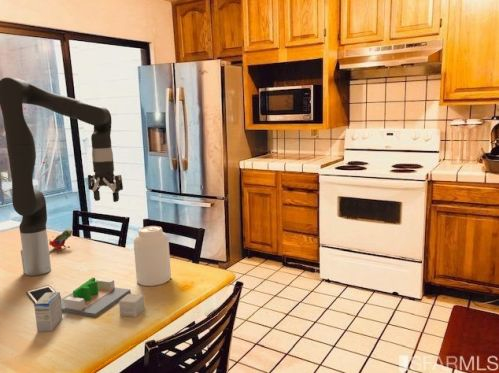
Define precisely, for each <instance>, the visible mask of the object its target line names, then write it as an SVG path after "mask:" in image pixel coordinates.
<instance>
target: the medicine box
mask: <svg viewBox="0 0 499 373" xmlns="http://www.w3.org/2000/svg"><path fill="white" fill-rule="evenodd" d="M60 297H61V292H59V291H56V292H48V293H45V294H44V295H43V296H42V297H41V298H40V299H39V300H38V301H37V302H36V303H33V304H34V314H35V322H36V331H37V332H38V333H39V332H40V333H41V332H52V331H54V329H55V328H56V326H57V325H58V324H59V323H60V321H61V320H62V319H63V312H62V307H61V299H62V297H61V298H60Z"/></svg>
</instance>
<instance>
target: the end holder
mask: <svg viewBox="0 0 499 373" xmlns="http://www.w3.org/2000/svg"><path fill="white" fill-rule="evenodd" d="M95 281H96V282H97V283H98V295H93V296H91V300H90V301H84V299H83V298H76V297H73V292H72V293H70V294H67V295H66V296H65V297H62V298H61V307H62V313H67V314H72V315H80V316H85V317H90V318H91V317H92V318H97V317H98V316H100V315H101V314H103V313H104V312H105V311H107V310H108V309H110V308H111V307H112V306H114V305H115V304H116V303H119V301H120V300H121V299H122V298H124V297H125V296H126V295H127V294H132V293H131V289H128V288H122V287H116V286H115V279H110V278H108V279H107V278H98V279H95Z"/></svg>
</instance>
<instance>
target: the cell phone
mask: <svg viewBox="0 0 499 373" xmlns="http://www.w3.org/2000/svg"><path fill="white" fill-rule="evenodd" d="M48 292H57V291H56V290H55V289H54V288H53V287H52V286H51V285H49V284H48V285H47V284H46V285H44V286H43V285H42V286H40V287H36V288H32V289H28V290H27V291H26V295H27V296H28V297H29V298H30V300H31V301H32V303H33V304H35V303H36V302H37V301H38V300H39V299H40V298H41V297H42V296H43V295H44V294H45V293H48ZM60 298H61V299H62V297H61V296H60Z"/></svg>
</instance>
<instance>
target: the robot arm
mask: <svg viewBox="0 0 499 373" xmlns="http://www.w3.org/2000/svg"><path fill="white" fill-rule="evenodd" d="M23 104H26V105H33V106H38V107H42V108H45V109H48V110H50V111H52V112H54V113H55V114H56V113H57V114H59V115H62V116H64V117H68V118H72V119H75V120H79V121H80V122H83V123H86V124H89V125H91V126H93V132H92V134H91V136H90V137H91V138H90V140H91V159H92V166H93V167H92V169H93V173H91V174H88V175H87V185H88V186H87V187H88V190H89V191H90V190H91V191H92V192H93V200H94V201H95V202H97V201H101V194H100V189H101V187H103V186H104V187H108V188H109V189H111V190H112V200H113V201H112V202H114V203H117V202H119V200H120V195H119V194H120V191H123V189H124V186H123V178H122V175H121V174H117V175H116V174H114V172H115V165H114V153H113V147H112V138H111V134H112V114H111V112H110V111H109V109H108V108H106V107H104V106H96V105H92V104H88V103H85V102H84V101H81V100H78V99H75V98H72V97H68V96H65V95H61V94H58V93H54V92H51V91H47V90H44V89H42V88H39V87H37V86H36V85H33V84H32V83H29V82H28V81H25V80H23V79H21V78H16V77H2V78H1V79H0V111H1V114H2V119H3V126H4V132H5V139H6V140H5V141H6V150H7V157H8V161H9V162H8V163H9V169H10V177H11V192H12V193H11V195H12V196H11V199H12V200H11V201H12V207H13V209H14V211H15V212H16V213H17V214H18V215H20V216H22V218H21V222H20V224H19V234H20V241H21V242H20V243H21V250H20V256H21V264H22V272H23V274H25V275H26V276H28V277H29V276H30V277H34V276H40V275H43V274H44V275H45V274H47V273H49V272H50V271H52V264H51V257H50V247H49V240H48V232H47V222H48V221H47V220H48V213H47V202H46V201H47V200H46V198H45V195H44V194H43V193H42V191H40V190H38V189H36V188H34V180H33V179H34V178H33V176H34V171H35V165H36V159H37V152H36V145H35V144H36V143H35V139H34V135H33V133H32V132H31V131H32V130H31V129H30V127H29V125H28V123H27V121H26V119H25V114H24V109H23Z"/></svg>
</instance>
